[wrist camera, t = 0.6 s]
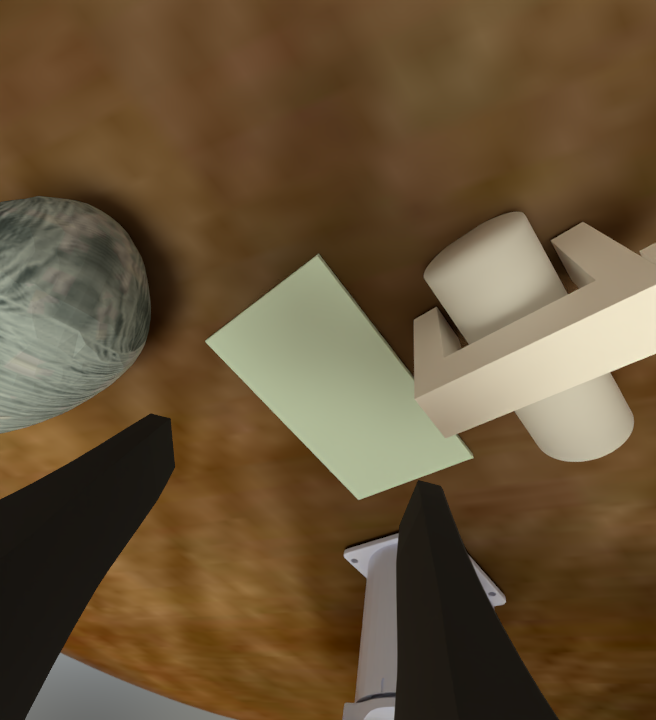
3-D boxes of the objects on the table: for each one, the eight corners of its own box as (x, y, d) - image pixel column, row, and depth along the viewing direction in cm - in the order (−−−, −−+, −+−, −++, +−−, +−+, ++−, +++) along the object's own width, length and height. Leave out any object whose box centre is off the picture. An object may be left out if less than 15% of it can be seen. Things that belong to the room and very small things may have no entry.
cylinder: (609, 382, 18) (653, 440, 15) (525, 415, 20) (548, 473, 17) (511, 203, 15) (539, 226, 12) (422, 261, 17) (425, 295, 14)
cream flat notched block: (651, 244, 15) (779, 310, 10) (438, 354, 19) (448, 442, 14) (627, 189, 14) (752, 229, 9) (411, 316, 18) (411, 394, 13)
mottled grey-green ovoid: (10, 90, 13) (-220, 346, 9) (221, 264, 20) (153, 459, 15) (-83, 226, 21) (-230, 400, 16) (92, 319, 27) (22, 460, 23)
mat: (472, 453, 22) (473, 457, 22) (358, 496, 26) (358, 499, 25) (318, 253, 18) (317, 255, 17) (207, 338, 21) (205, 341, 21)
